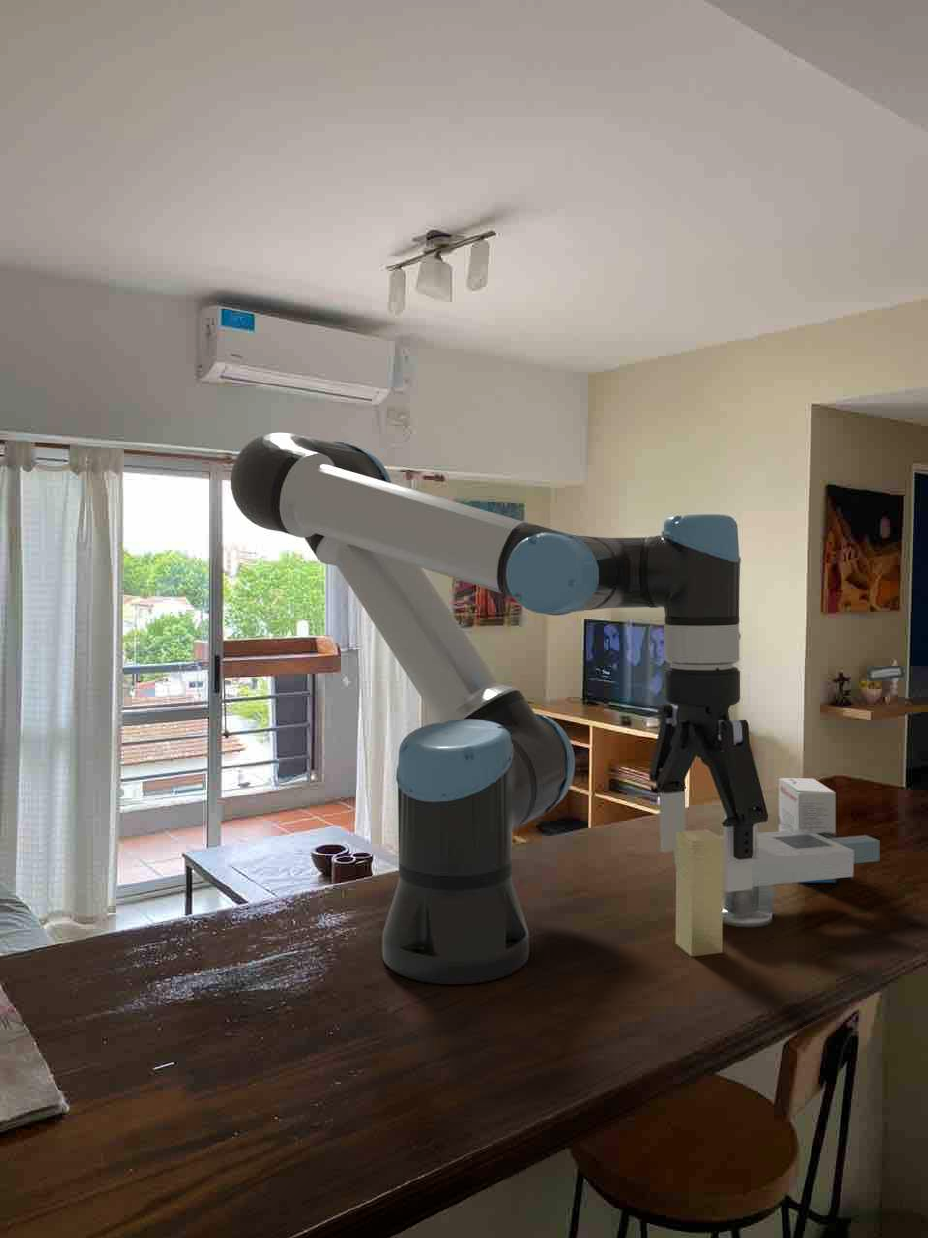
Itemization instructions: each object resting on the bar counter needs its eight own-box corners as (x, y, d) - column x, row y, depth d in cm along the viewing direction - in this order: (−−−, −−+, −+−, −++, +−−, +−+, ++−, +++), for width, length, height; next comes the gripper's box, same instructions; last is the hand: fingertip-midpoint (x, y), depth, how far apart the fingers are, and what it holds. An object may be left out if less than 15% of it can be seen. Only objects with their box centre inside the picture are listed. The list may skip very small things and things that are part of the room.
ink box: (837, 884, 118) (839, 791, 117) (797, 884, 118) (799, 791, 117) (813, 863, 127) (814, 776, 126) (776, 863, 127) (777, 776, 126)
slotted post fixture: (712, 936, 101) (713, 808, 101) (673, 907, 110) (674, 789, 109) (897, 915, 107) (900, 794, 107) (847, 889, 116) (849, 777, 115)
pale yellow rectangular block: (691, 956, 96) (692, 841, 96) (675, 943, 100) (676, 831, 99) (722, 952, 97) (723, 838, 96) (705, 940, 100) (706, 829, 100)
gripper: (806, 675, 86) (807, 905, 86) (678, 654, 110) (679, 834, 111) (733, 679, 84) (734, 913, 85) (618, 657, 108) (620, 839, 109)
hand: (703, 869), depth 98 cm, fingers open, 13 cm apart
